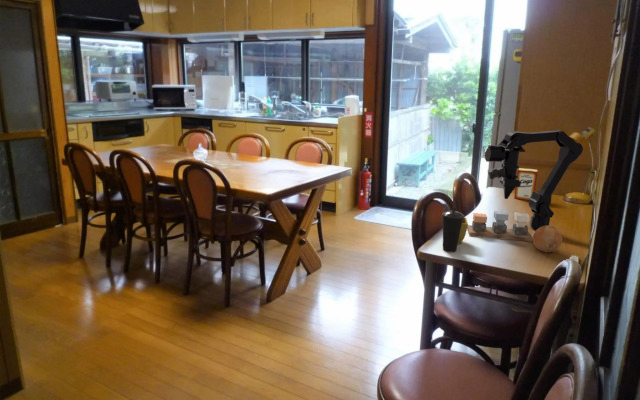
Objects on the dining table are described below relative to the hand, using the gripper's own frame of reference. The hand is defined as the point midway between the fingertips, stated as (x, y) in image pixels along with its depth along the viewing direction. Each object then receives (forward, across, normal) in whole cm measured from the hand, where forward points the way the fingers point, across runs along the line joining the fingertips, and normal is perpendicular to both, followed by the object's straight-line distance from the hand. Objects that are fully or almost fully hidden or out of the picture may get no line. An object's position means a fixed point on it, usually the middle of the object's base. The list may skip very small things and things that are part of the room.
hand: (505, 198), depth 200 cm
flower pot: (+13, +24, -22) cm, 35 cm away
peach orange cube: (+11, +10, -11) cm, 18 cm away
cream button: (+9, +10, +5) cm, 14 cm away
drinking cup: (+13, +34, -24) cm, 44 cm away
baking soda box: (+13, -60, +21) cm, 65 cm away
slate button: (+9, +10, -3) cm, 14 cm away
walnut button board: (+13, +10, -3) cm, 17 cm away
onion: (+13, +25, +11) cm, 31 cm away
